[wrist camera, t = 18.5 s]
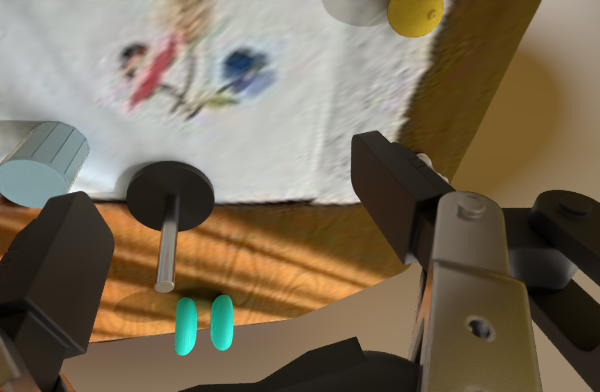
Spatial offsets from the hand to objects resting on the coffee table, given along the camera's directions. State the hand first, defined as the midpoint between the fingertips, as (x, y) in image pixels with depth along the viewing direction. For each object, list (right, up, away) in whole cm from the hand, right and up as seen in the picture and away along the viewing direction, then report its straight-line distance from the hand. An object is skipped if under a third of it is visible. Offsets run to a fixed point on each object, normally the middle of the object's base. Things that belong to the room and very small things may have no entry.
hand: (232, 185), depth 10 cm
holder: (-17, 0, +38) cm, 41 cm away
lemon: (+14, +24, +30) cm, 41 cm away
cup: (-28, +6, +29) cm, 41 cm away
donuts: (-17, -21, +54) cm, 61 cm away
